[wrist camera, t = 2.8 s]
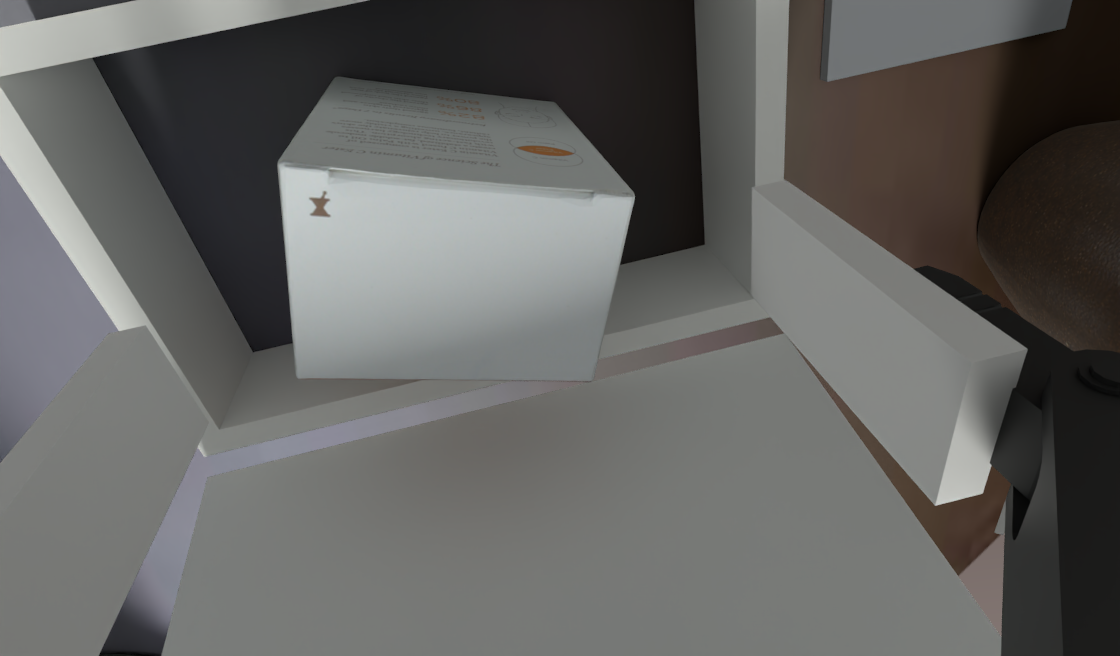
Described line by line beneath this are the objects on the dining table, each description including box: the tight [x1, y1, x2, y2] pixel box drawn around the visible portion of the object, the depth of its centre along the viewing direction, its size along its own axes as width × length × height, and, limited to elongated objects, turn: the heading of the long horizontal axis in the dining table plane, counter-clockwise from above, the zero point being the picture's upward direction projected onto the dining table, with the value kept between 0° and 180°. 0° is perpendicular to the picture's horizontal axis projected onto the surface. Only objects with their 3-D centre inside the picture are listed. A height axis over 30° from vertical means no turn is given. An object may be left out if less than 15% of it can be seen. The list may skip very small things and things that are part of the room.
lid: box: [161, 334, 1002, 656], centre depth 18 cm, size 22×14×2 cm
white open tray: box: [0, 0, 789, 457], centre depth 21 cm, size 22×14×5 cm, turn 100°
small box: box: [277, 77, 635, 382], centre depth 19 cm, size 8×6×10 cm
